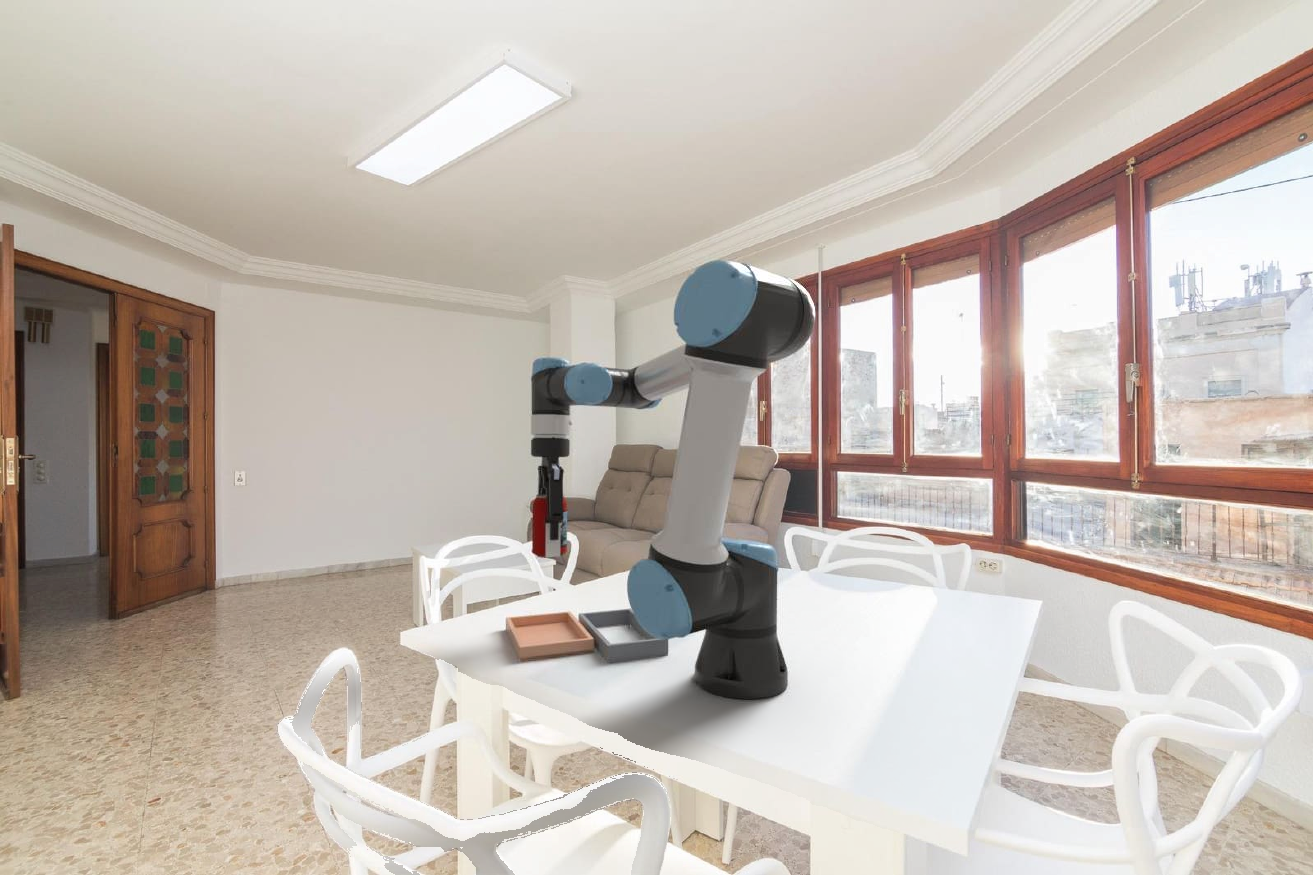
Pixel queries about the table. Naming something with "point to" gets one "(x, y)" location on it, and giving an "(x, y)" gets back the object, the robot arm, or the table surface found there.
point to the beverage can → (540, 527)
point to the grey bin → (625, 649)
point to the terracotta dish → (548, 636)
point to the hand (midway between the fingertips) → (549, 553)
